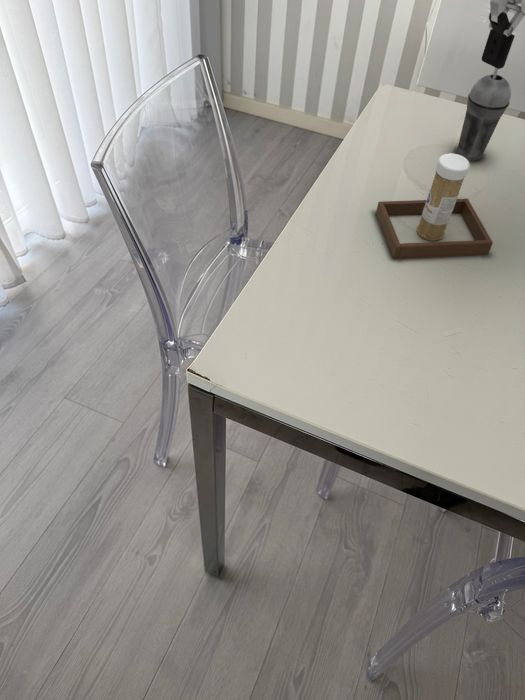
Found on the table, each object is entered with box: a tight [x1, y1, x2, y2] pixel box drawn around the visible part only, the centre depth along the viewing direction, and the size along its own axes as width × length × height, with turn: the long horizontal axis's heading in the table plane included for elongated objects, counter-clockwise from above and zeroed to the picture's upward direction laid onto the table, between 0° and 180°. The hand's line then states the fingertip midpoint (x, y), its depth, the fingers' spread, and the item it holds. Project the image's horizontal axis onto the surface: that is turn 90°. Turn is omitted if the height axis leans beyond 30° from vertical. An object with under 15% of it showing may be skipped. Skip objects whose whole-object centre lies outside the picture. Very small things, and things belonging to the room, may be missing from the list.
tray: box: [375, 198, 494, 260], centre depth 93 cm, size 16×12×3 cm
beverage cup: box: [456, 67, 512, 162], centre depth 102 cm, size 7×7×20 cm
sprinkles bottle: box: [416, 152, 471, 242], centre depth 88 cm, size 5×5×13 cm
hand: (515, 55), depth 75 cm, fingers open, 9 cm apart
